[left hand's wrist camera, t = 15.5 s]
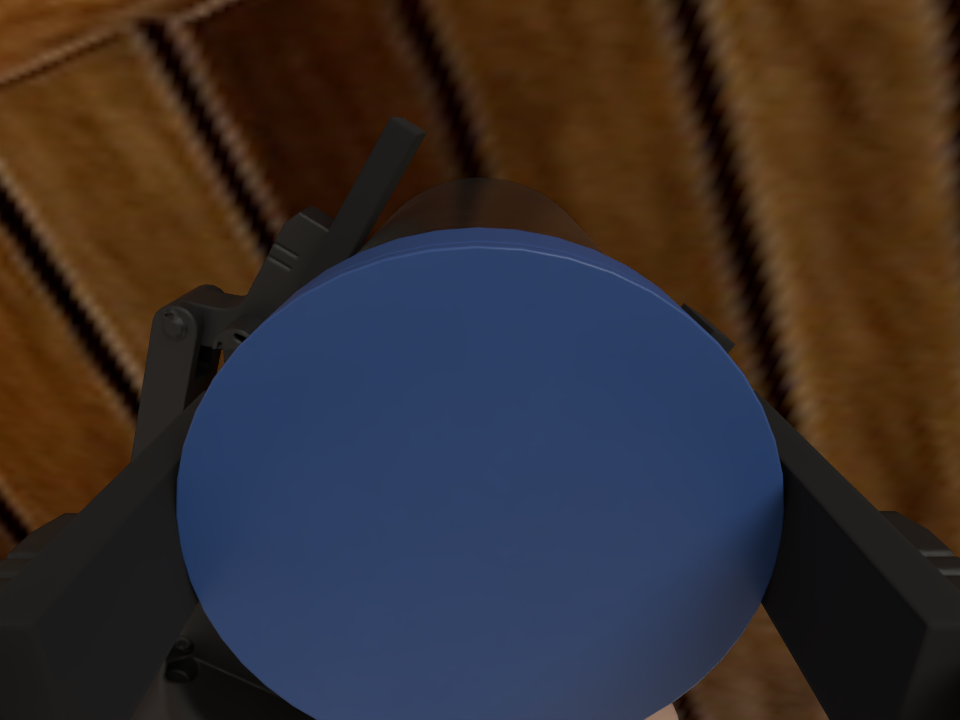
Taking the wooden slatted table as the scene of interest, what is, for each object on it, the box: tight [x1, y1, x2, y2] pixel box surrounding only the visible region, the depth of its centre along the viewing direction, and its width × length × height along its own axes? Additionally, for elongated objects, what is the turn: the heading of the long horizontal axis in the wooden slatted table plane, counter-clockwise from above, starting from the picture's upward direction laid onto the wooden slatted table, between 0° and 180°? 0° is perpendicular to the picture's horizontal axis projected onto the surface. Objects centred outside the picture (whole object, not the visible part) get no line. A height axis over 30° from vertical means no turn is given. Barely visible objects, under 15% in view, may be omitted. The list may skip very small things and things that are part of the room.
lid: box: [176, 227, 784, 720], centre depth 11 cm, size 10×10×2 cm
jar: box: [355, 178, 605, 255], centre depth 18 cm, size 9×9×15 cm
